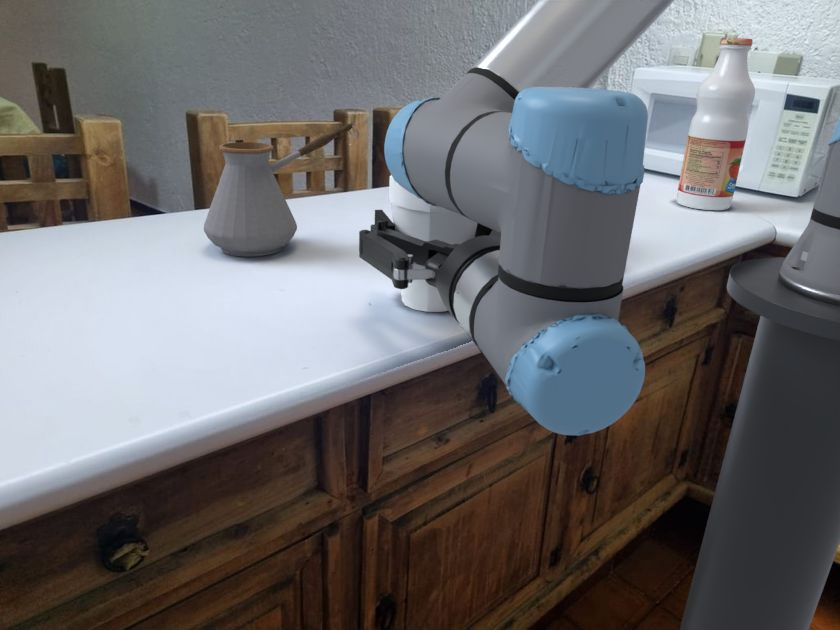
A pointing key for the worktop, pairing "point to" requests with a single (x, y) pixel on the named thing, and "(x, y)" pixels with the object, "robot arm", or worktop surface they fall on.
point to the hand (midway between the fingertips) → (424, 221)
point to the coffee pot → (254, 199)
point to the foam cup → (426, 238)
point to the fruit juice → (718, 131)
